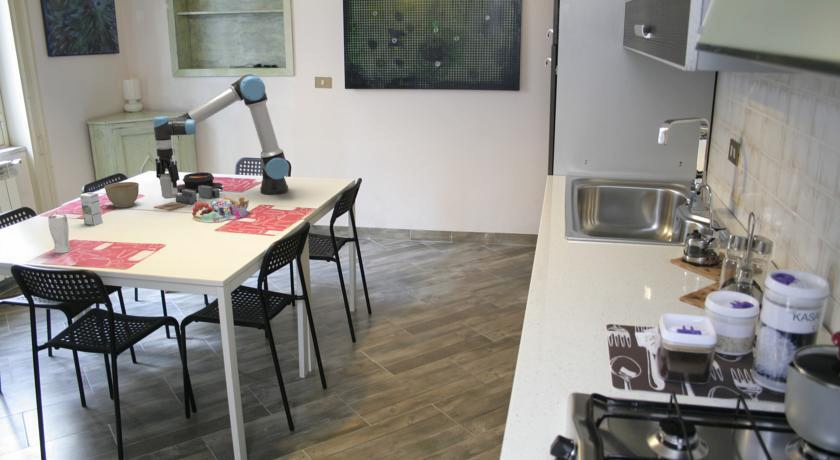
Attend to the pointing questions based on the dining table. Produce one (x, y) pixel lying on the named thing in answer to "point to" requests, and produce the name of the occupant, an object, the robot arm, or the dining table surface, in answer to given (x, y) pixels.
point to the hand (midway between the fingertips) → (169, 192)
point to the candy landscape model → (221, 210)
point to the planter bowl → (122, 193)
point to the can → (166, 186)
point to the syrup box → (91, 208)
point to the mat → (171, 206)
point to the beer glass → (59, 232)
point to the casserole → (198, 181)
